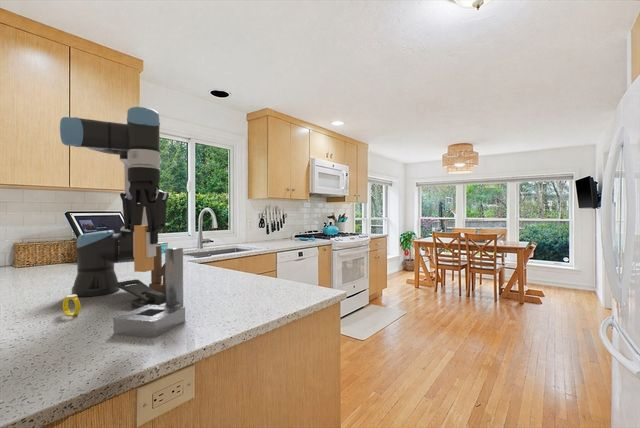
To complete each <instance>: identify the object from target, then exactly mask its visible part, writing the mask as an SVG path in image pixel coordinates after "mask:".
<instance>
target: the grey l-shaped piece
mask: <svg viewBox="0 0 640 428" xmlns="http://www.w3.org/2000/svg"><path fill="white" fill-rule="evenodd" d="M164 261H165V262H164V263H165V296H166V303H164V304H161V305H146V306H143V307H141V308H138V309H133V310H131V311H129V312H125V313H124V314H120V315H118V316H116V317H114V318H113V319H112V320H113V322H112V323H113V325H112V326H113V335H119V336H120V335H121V336H132V337H142V338H152V339H153V338H154V339H155V338H157V337H158V336H160V335H163V334H164V333H166V332H168V331H170V330H172V329H174V328H175V327H177V326H179V325H181V324H183V323H184V322H186V306H184V247H167V248H165V249H164Z"/></svg>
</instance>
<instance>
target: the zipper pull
mask: <svg viewBox="0 0 640 428" xmlns="http://www.w3.org/2000/svg"><path fill="white" fill-rule="evenodd" d="M118 282H119V283H116V284H115V286H116V287H118V288H120V289H119V290H121V291H122V290H123V291H125V292H127V293H129V294H131V295H132V296H135V297H137V298H134V299H132V300H131V308H132V309H133V310H136V309H138V308H141V307H143V306H146V305H161V304H164V303H166V296H165V294H163V293H160V292H157V291H154V290H153V289H151V288H150V287H149V285H147V284H145V283H144V282H142V281H141V280H139V279H130V280H123V281H118Z"/></svg>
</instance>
